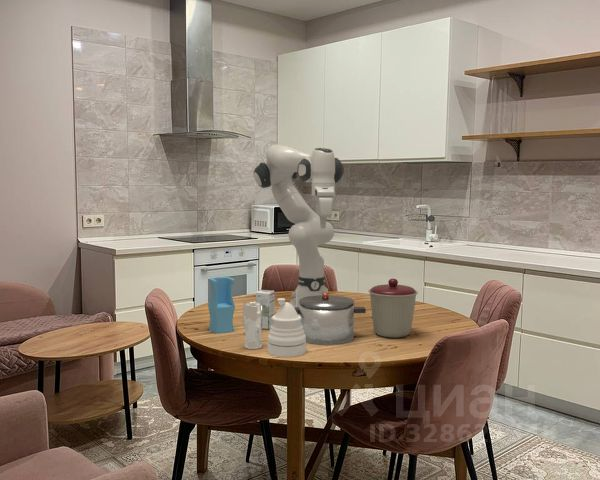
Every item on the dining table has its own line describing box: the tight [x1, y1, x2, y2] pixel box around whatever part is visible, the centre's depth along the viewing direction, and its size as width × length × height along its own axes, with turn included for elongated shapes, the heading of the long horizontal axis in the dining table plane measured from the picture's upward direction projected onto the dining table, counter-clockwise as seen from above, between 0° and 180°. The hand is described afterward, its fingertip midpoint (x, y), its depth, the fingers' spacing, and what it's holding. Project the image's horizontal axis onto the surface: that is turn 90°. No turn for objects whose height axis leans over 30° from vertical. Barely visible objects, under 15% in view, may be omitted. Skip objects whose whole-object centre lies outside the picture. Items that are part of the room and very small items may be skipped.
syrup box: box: [255, 289, 275, 331], centre depth 229 cm, size 6×6×14 cm
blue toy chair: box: [207, 276, 236, 334], centre depth 224 cm, size 8×8×20 cm
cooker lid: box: [299, 292, 355, 309], centre depth 214 cm, size 20×20×3 cm
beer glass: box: [242, 301, 263, 350], centre depth 202 cm, size 7×7×15 cm
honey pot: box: [267, 297, 307, 358], centre depth 197 cm, size 13×13×18 cm
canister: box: [368, 278, 419, 339], centre depth 219 cm, size 18×18×21 cm
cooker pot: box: [294, 304, 366, 346], centre depth 216 cm, size 22×28×12 cm
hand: (323, 227), depth 224 cm, fingers closed
